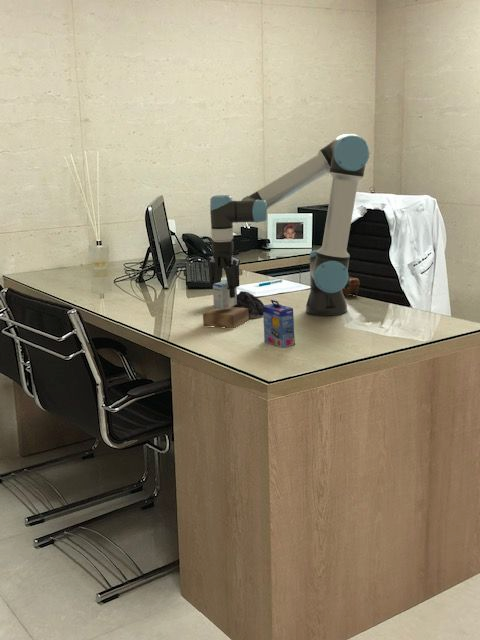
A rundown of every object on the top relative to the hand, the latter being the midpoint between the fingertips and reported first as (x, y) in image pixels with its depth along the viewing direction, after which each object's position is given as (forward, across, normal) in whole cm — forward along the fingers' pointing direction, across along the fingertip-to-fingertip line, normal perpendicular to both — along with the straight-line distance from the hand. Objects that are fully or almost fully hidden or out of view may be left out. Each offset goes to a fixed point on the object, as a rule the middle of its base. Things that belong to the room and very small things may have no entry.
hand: (225, 305), depth 282 cm
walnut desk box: (+7, 0, 0) cm, 7 cm away
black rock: (+7, +2, -14) cm, 16 cm away
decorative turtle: (+7, -11, -62) cm, 63 cm away
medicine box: (+1, 0, 0) cm, 1 cm away
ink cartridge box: (+7, -32, +11) cm, 35 cm away
